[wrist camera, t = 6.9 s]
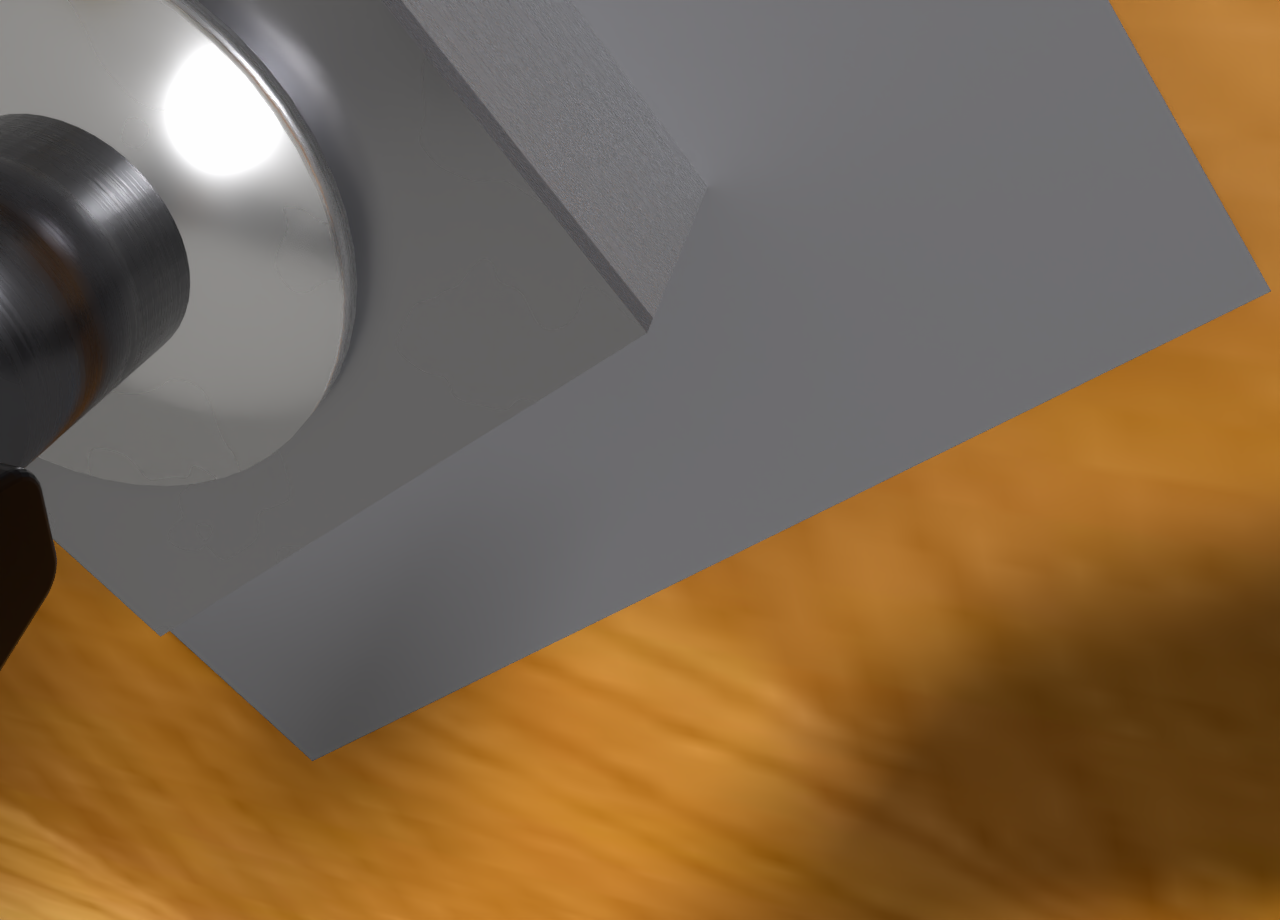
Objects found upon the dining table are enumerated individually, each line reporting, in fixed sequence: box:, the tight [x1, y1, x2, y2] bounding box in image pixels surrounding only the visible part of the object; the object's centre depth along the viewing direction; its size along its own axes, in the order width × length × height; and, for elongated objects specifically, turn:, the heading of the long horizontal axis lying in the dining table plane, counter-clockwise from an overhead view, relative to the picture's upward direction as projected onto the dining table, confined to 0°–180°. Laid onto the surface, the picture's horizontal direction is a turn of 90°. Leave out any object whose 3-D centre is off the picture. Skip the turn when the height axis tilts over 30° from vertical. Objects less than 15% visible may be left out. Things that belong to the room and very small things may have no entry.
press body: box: [25, 0, 708, 636], centre depth 17 cm, size 10×10×5 cm
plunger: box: [0, 0, 357, 486], centre depth 15 cm, size 7×7×8 cm
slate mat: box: [170, 0, 1271, 761], centre depth 19 cm, size 22×22×1 cm
